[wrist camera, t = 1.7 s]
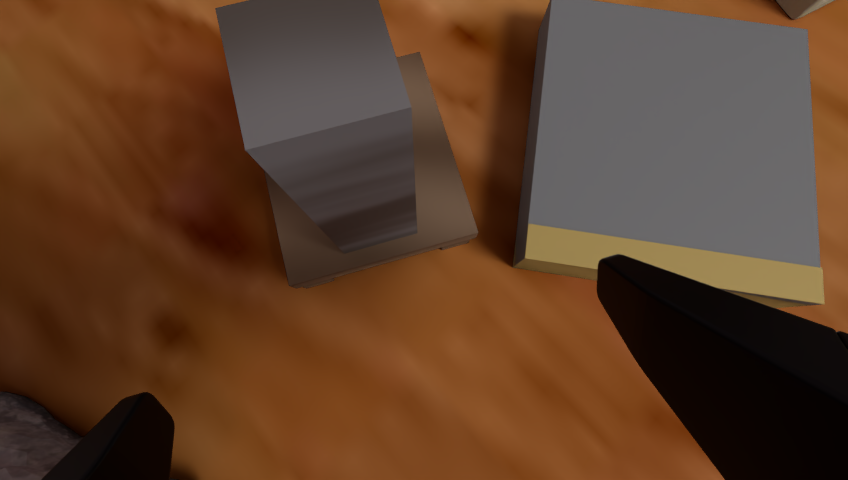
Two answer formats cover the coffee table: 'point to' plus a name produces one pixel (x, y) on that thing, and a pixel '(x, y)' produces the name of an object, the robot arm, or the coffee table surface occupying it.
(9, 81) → the coffee table surface
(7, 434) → the geode
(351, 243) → the grey column with base
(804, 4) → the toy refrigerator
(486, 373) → the coffee table surface
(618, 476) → the coffee table surface
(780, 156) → the dock
